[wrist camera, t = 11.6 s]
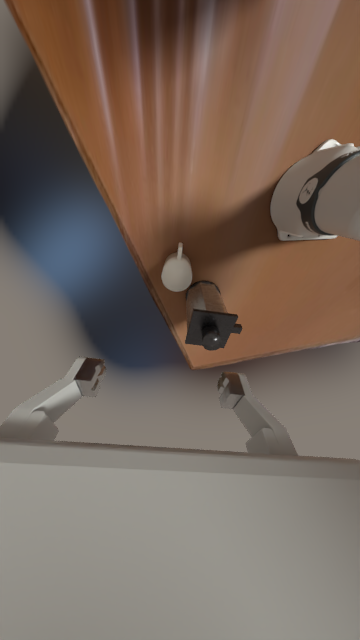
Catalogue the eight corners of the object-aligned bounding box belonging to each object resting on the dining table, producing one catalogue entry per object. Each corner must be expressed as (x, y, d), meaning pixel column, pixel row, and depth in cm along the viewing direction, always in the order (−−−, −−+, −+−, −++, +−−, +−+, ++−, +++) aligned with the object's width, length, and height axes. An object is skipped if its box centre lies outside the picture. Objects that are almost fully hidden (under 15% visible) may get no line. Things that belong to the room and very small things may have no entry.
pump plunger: (211, 293, 53) (224, 338, 36) (207, 305, 55) (218, 351, 39) (198, 291, 52) (205, 336, 36) (195, 303, 55) (201, 349, 38)
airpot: (183, 308, 58) (183, 344, 44) (189, 278, 51) (192, 309, 37) (222, 313, 59) (235, 350, 45) (233, 284, 52) (252, 317, 38)
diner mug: (194, 242, 45) (197, 251, 38) (188, 280, 52) (189, 293, 44) (166, 238, 44) (163, 246, 37) (163, 276, 51) (160, 289, 44)
